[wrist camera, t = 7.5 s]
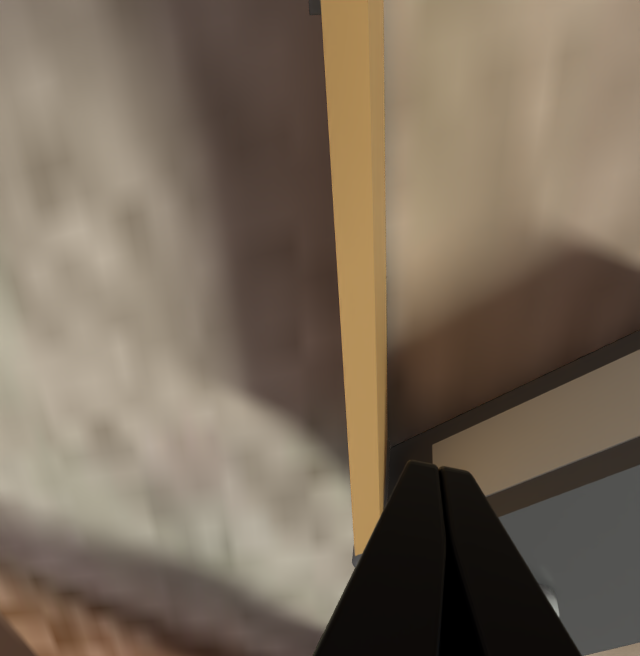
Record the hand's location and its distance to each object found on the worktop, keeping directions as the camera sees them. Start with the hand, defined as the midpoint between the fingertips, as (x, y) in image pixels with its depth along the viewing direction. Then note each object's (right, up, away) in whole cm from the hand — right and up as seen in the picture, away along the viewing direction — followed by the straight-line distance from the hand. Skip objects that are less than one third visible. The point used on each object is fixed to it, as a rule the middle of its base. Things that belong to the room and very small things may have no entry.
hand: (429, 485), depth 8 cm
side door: (0, +5, +10) cm, 11 cm away
